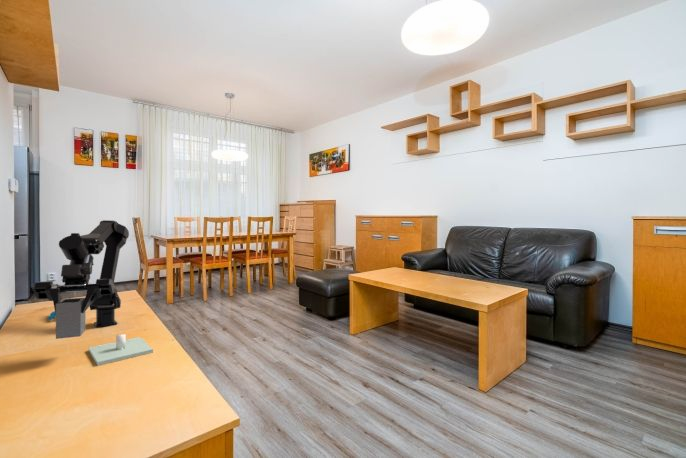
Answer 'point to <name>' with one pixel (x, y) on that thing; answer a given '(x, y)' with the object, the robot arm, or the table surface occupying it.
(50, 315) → the blue toy figurine
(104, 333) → the table surface
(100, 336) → the table surface
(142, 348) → the pin board
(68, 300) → the square open box
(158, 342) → the table surface
